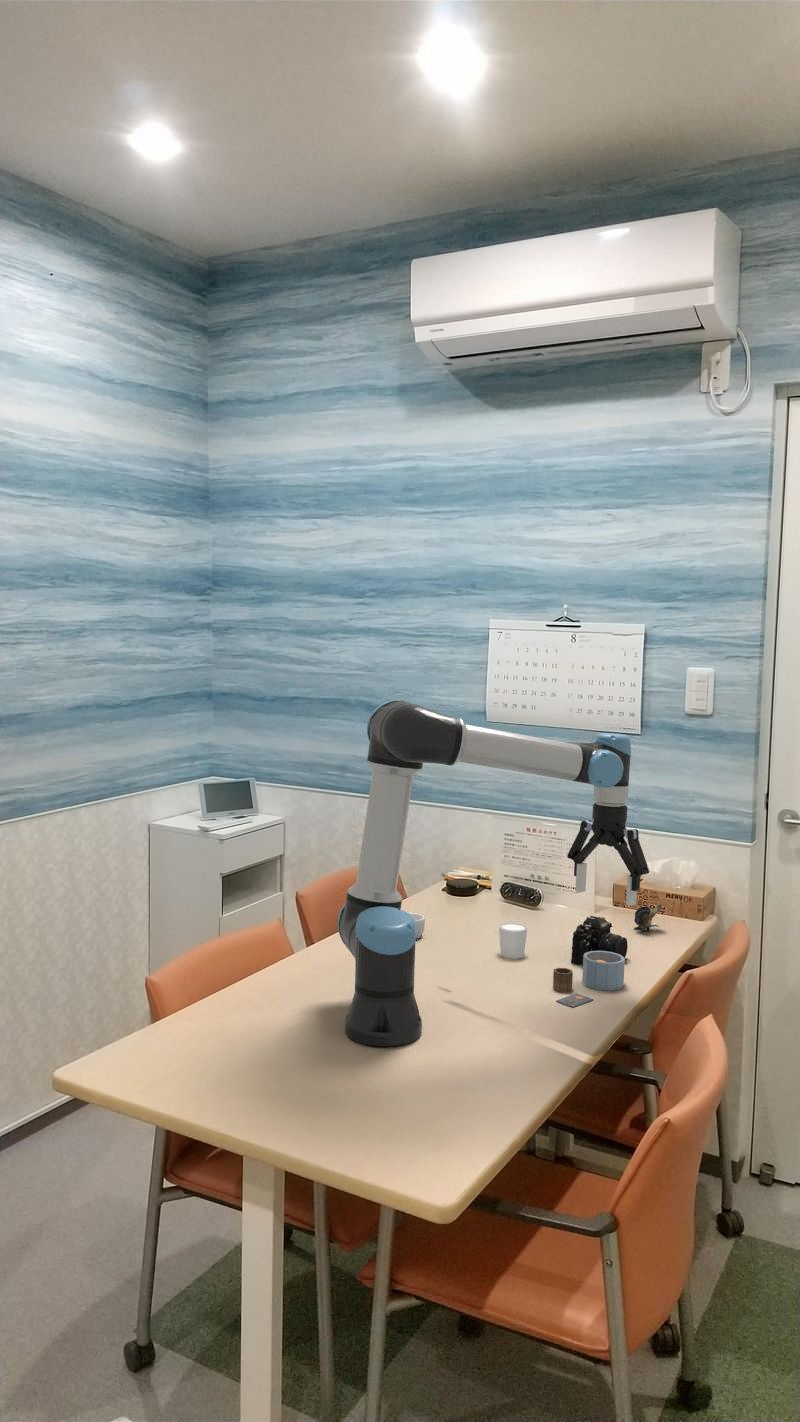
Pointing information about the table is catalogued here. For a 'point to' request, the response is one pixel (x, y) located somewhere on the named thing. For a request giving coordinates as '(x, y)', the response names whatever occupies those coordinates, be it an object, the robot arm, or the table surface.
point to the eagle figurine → (646, 917)
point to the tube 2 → (603, 970)
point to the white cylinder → (512, 940)
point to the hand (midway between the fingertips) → (605, 898)
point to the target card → (574, 1000)
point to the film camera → (596, 939)
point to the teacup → (418, 923)
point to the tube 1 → (562, 979)
